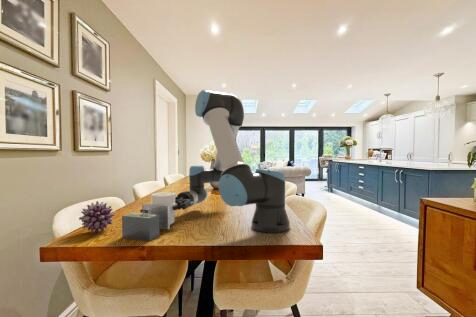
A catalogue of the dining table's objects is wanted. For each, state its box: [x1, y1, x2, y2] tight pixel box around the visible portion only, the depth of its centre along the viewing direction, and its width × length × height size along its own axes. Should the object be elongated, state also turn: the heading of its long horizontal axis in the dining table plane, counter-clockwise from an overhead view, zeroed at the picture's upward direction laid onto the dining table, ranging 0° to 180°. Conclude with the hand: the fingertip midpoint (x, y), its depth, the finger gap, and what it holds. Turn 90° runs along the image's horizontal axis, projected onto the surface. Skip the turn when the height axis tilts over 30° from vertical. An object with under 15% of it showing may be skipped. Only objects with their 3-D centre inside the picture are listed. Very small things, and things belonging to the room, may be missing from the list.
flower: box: [78, 200, 116, 233], centre depth 93 cm, size 12×12×12 cm
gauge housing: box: [121, 212, 160, 242], centre depth 87 cm, size 12×5×8 cm, turn 71°
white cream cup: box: [150, 191, 177, 225], centre depth 100 cm, size 10×10×12 cm
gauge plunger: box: [139, 203, 171, 230], centre depth 91 cm, size 12×7×9 cm, turn 71°
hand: (156, 209), depth 95 cm, fingers closed on white cream cup, 9 cm apart
